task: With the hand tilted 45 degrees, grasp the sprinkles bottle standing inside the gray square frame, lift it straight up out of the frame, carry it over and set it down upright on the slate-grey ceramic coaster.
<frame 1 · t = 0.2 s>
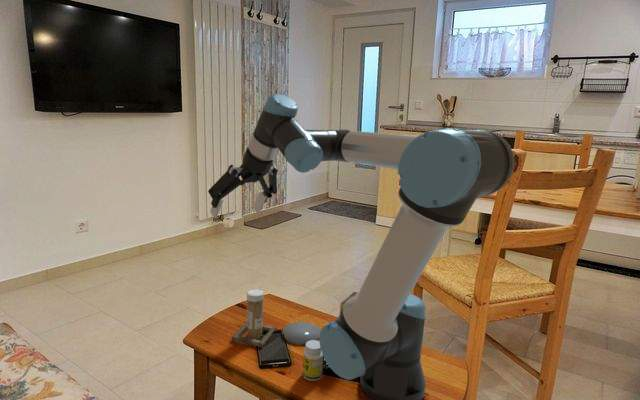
hand: (235, 212, 117), 34 cm above the table, tool tilted 35°, fingers open, 13 cm apart
gray square frame: (254, 336, 118), on the table
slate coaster: (301, 334, 121), on the table
candy box: (349, 351, 114), on the table
sprinkles bottle: (254, 337, 119), resting in gray square frame
supplement bottle: (312, 376, 102), on the table
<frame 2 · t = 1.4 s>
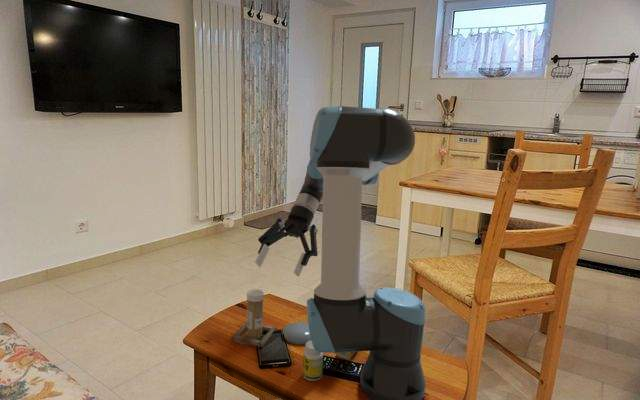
hand: (276, 269, 124), 17 cm above the table, tool tilted 45°, fingers open, 13 cm apart
nothing on the table moved.
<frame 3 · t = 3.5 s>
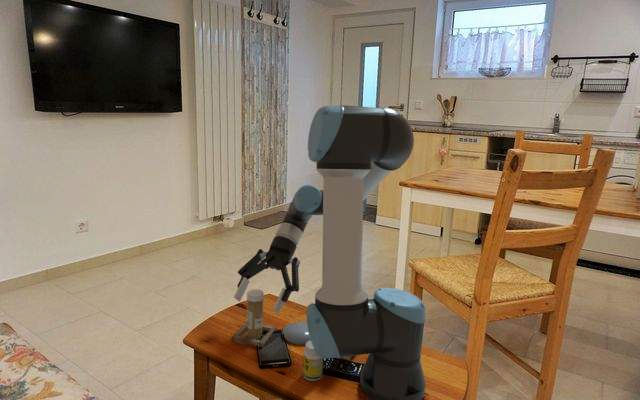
hand: (255, 305, 118), 9 cm above the table, tool tilted 45°, fingers open, 13 cm apart
nothing on the table moved.
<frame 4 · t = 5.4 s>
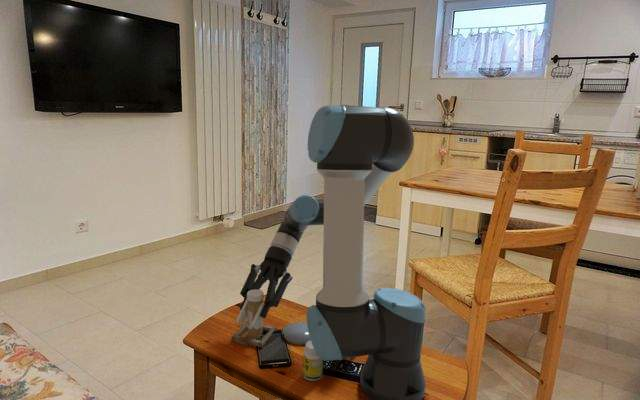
hand: (246, 325, 114), 5 cm above the table, tool tilted 45°, fingers closed on sprinkles bottle, 4 cm apart
sprinkles bottle: (254, 337, 119), resting in gray square frame, touching gripper
everything else where it was.
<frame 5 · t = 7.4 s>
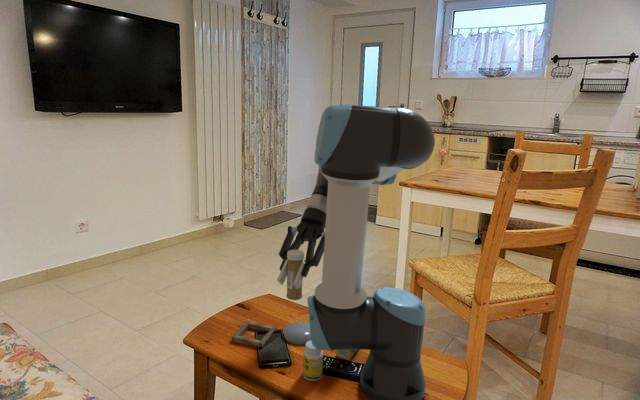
hand: (287, 284, 113), 17 cm above the table, tool tilted 45°, fingers closed on sprinkles bottle, 4 cm apart
sprinkles bottle: (294, 297, 118), point 12 cm above the table, touching gripper
everything else where it was.
when the fingers open (7 cm above the table, at t = 9.8 s): sprinkles bottle stays where it is, resting on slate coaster.
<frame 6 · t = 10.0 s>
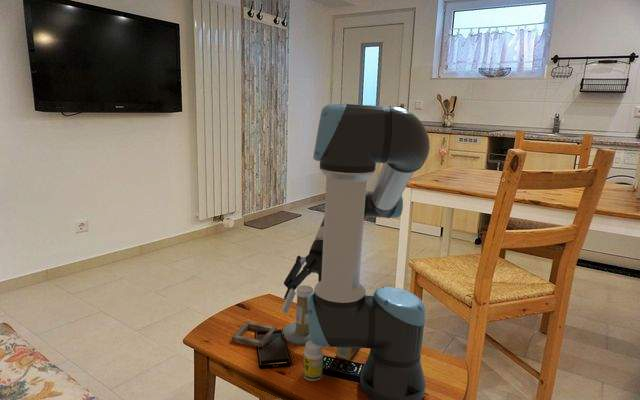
hand: (296, 315, 116), 8 cm above the table, tool tilted 45°, fingers open, 7 cm apart
sprinkles bottle: (302, 332, 120), point 1 cm above the table, touching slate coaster
everything else where it was.
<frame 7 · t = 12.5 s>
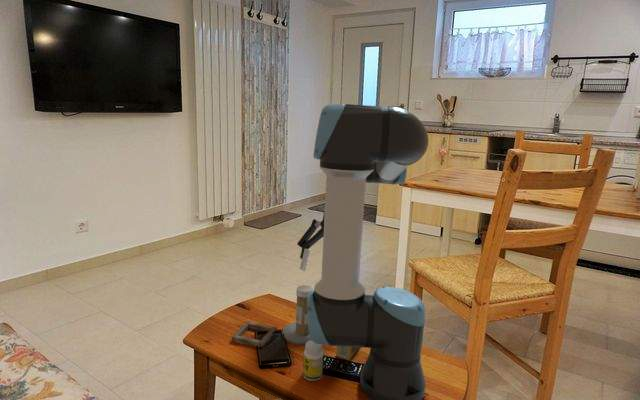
hand: (322, 273, 128), 15 cm above the table, tool tilted 30°, fingers open, 13 cm apart
nothing on the table moved.
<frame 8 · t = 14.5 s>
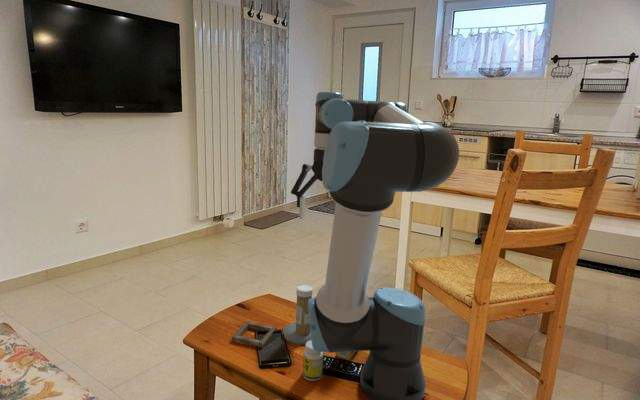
hand: (323, 221, 123), 32 cm above the table, tool pointing down, fingers open, 13 cm apart
nothing on the table moved.
at the end: sprinkles bottle inside the target area on the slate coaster (0.3 cm from its centre), point 0.8 cm above the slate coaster's base; sprinkles bottle tilted 0°; the gripper is holding nothing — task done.
